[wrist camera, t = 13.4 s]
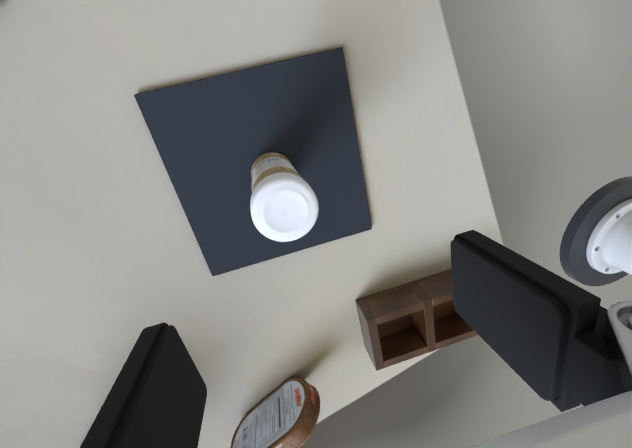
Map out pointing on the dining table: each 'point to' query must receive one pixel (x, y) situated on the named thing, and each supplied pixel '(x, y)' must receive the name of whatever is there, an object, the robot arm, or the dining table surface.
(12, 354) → the dining table surface
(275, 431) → the tin
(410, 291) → the spice rack
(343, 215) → the table mat
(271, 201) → the sprinkles bottle
